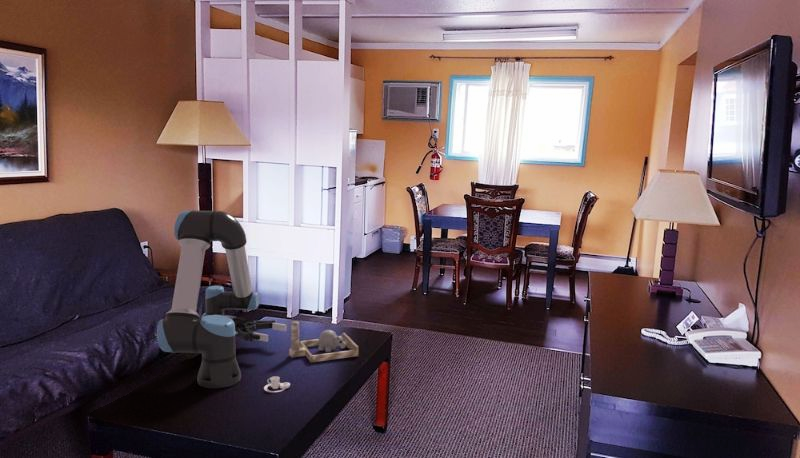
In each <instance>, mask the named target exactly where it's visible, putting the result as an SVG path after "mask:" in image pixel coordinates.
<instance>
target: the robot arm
mask: <svg viewBox="0 0 800 458" xmlns="http://www.w3.org/2000/svg"><path fill="white" fill-rule="evenodd" d="M173 229H174V231H173V234H174V237H175V239H176V240H177V241H178V245H179V247H180V256H179V260H178V267H177V273H176V279H175V286H174V292H173V298H172V303H171V309H170V310H169V311H167V312H166V313H165V318H162V319H160V320H159V321H158V323H157V327H156V339H157V344H158V346H159V348H160V350H161V351H163V352H165V353H174V354H176V353H179V354H180V353H184V354H185V353H187V354H201V364H200V367H199V370H198V373H197V379H196V380H197V384H198V386H200V387H202V388H206V389H223V388H228V387H229V388H230V387H232V386H234V385H236V384H238V383H239V382H240V381H241V379H242V372H241V368H240V366H239V363H238V360H237V357H236V356H237V354H236V349H237V348H236V347H237V346H236V337H239V338H240V339H242V340H243V341H245V342H248V341H249V342H254V341H253V340H255V341H261V342H266V343H267V342H269V334H265V333H259V332H257V331H259V330H268V329H270V330H271V329H272V330H275V331H280V332H287V331H288V330H287V329H288V328H287V324H284V323H279V322H278V323H277V322H276V320H273V319H272V320H255V319H253V320H252V321H247V320H246V319H245V318H243V317H238V316H234V315H226V314H225V310H243V311H245V310H246V311H250V310H251V311H252V310H257V309H258V307H259V304H260V294H259V293H258V292H257V291H253V288H252V283H251V282H252V281H251V277H250V270H249V264H248V259H247V253H246V245H247V237H246V236H247V235H246V232H245V230H244V228H243V226H242V224H241V223H240V222H239V221H238V220H237V218H235V217H234V216H233V215H232V214H230V213H229V212H226V211H222V210H196V209H192V210H183V211H181V212H180V213H179V214H178V215H177V217H176V219H175V222H174V227H173ZM211 242H220V243H221V247H222V249H224V250H225V254H226V259H227V265H228V271H229V276H230V280H231V285H232V290H233V291H226V290H225V289H224V286H221V285H211V286H208V287H206V289H205V298H204V299H205V300H204V301H205V312H204V313H202V315H200V314H199V313H198V312H197V308H198V303H199V302H198V301H199V295H200V289H201V288H200V287H201V282H202V274H203V266H204V260H205V255H206V250H208V249H209V248H210V247H211Z"/></svg>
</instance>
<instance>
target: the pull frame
mask: <svg viewBox="0 0 800 458" xmlns="http://www.w3.org/2000/svg"><path fill="white" fill-rule="evenodd" d="M290 330H291V331H290V348H289V354H288V355H289V357H290V358H297V357H298V358H299V357H306V359H307V360H308V361H309V363H316V362H317V363H318V362H323V361H331V360H339V359H345V358H348V359H349V358H354V357H359V346H358V344H357V343H355V342H354V340H352V338H351V337H350V336H348V335H347V334H346V332H342V333H341V335H342V334H343V336H342V337H343V340H344V342H345V340H346V348H348V349H349V350H343V351H342V350H341V351H335V352H329V353H328V352H325V353H320V354H312V353H311V352H310V350H309V348H310V347H315V346H316V347H317V346H318V347H319V344H320V341H319V338H316V339H308V340H300V322H299V321H298V320H297V321H295V320H294V321H291V322H290ZM308 347H309V348H308Z"/></svg>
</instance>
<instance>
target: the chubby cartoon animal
mask: <svg viewBox="0 0 800 458" xmlns="http://www.w3.org/2000/svg"><path fill="white" fill-rule="evenodd" d="M336 333H337V332H335V331H333V330H331V329H325V330H323V331H321V333H320V335H319V338H318V339H319V341H320V344H319V345H318V348H317V350H319V351H323V352H325V353H332V351H335V350H336V349H337V347H339V348H340V349H346V348H347V346H346V340H345V342H344V340H343V337H342V336H343V334H342V333H341V334H340V335H338V334H336Z"/></svg>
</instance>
